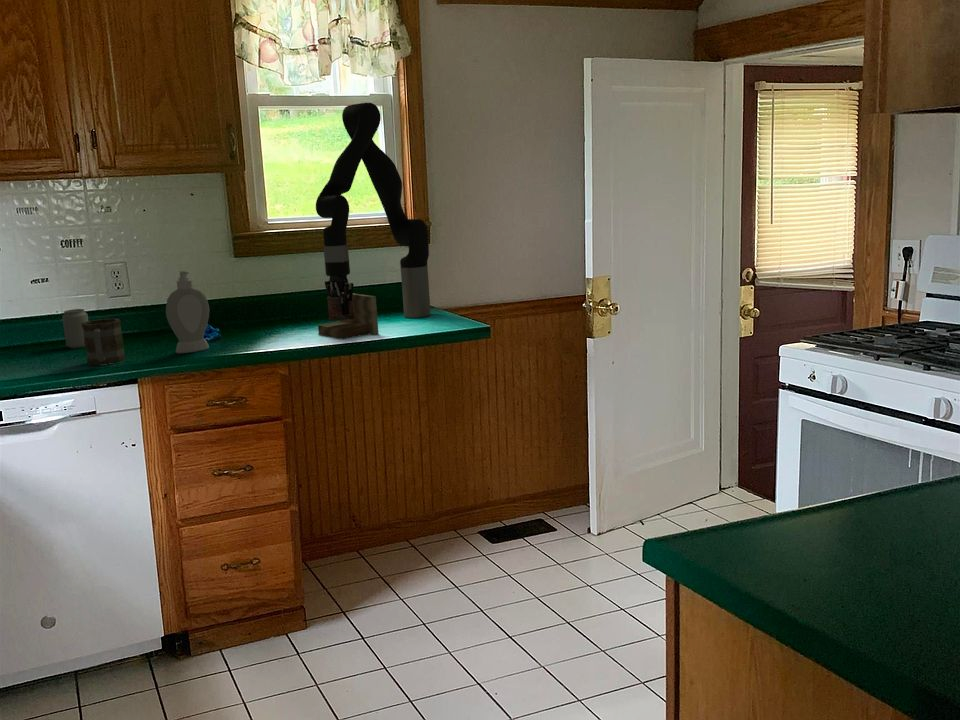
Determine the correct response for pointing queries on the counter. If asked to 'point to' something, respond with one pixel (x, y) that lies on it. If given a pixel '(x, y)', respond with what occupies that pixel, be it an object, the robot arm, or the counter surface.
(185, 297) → the soap bottle
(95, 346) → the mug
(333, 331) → the wooden bookend
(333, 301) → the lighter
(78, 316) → the can
